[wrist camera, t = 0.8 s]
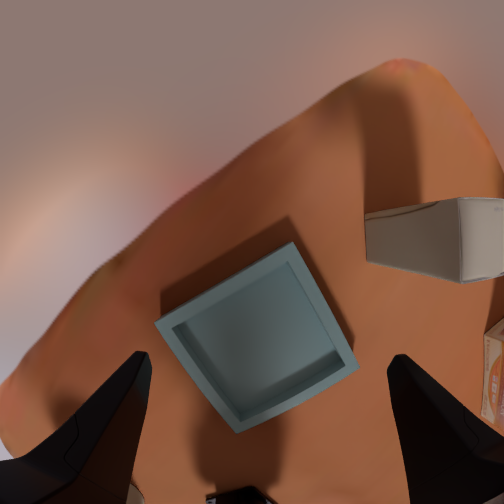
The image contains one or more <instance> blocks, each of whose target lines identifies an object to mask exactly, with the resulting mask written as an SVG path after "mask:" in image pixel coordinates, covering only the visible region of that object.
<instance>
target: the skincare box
mask: <svg viewBox="0 0 504 504" xmlns="http://www.w3.org/2000/svg"><path fill="white" fill-rule="evenodd" d="M365 233H366V253H367V262H368V263H372V264H376V265H381V266H385V267H390V268H394V269H399V270H403V271H407V272H412V273H417V274H421V275H425V276H430V277H434V278H438V279H443V280H447V281H451V282H455V283H460V284H466V283H472V282H477V281H482V280H487V279H492V278H495V277H499V276H503V275H504V199H500V198H484V197H459V198H453V199H447V200H441V201H435V202H428V203H422V204H417V205H411V206H405V207H399V208H393V209H388V210H382V211H377V212H372V213H367V214H365Z"/></svg>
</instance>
